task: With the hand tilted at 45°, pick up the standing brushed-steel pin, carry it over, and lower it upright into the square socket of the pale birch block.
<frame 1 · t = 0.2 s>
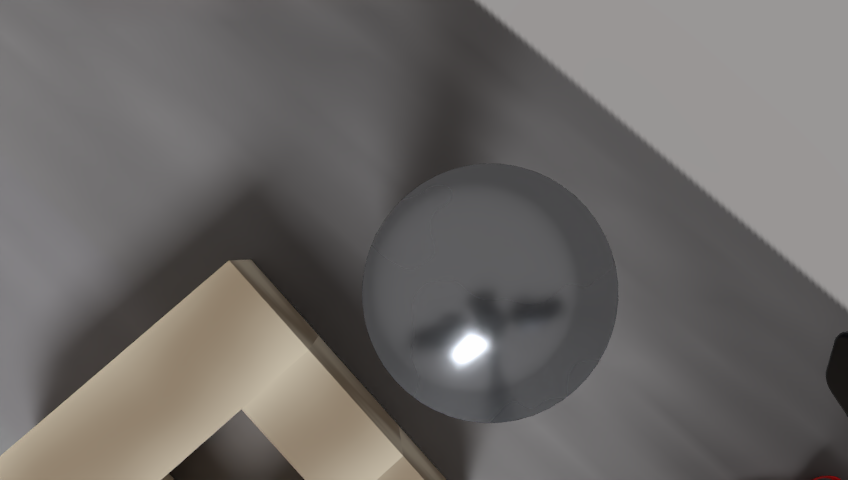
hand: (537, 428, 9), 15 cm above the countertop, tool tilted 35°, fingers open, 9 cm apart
steel pin: (423, 270, 24), on the countertop
socket block: (255, 473, 23), on the countertop
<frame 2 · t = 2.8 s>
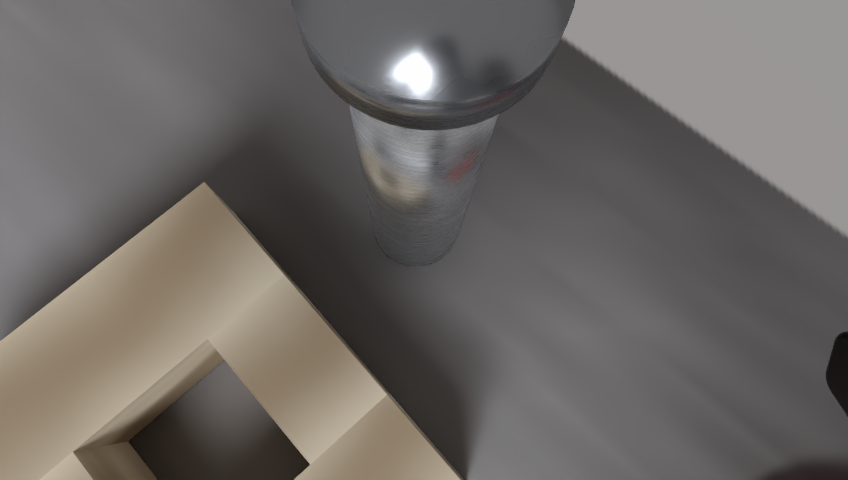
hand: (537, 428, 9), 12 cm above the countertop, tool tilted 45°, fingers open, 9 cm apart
steel pin: (416, 224, 22), on the countertop
socket block: (227, 446, 20), on the countertop
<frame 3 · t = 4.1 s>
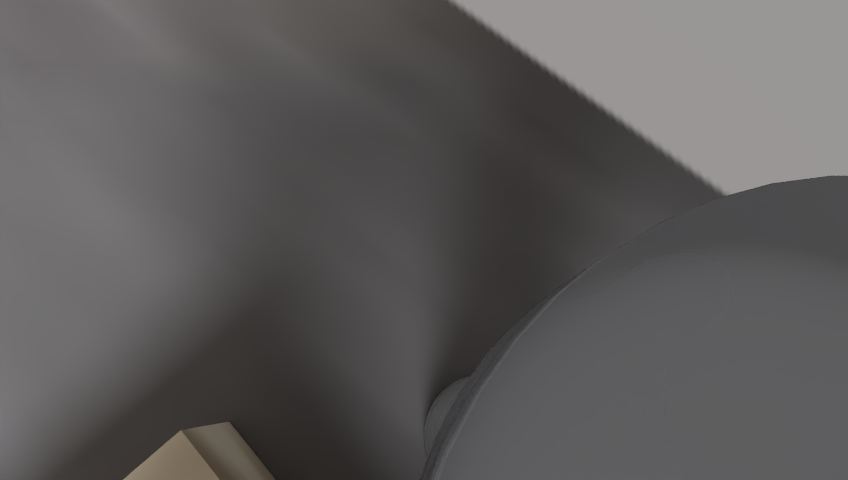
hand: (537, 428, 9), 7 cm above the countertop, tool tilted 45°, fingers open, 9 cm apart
steel pin: (483, 435, 16), on the countertop
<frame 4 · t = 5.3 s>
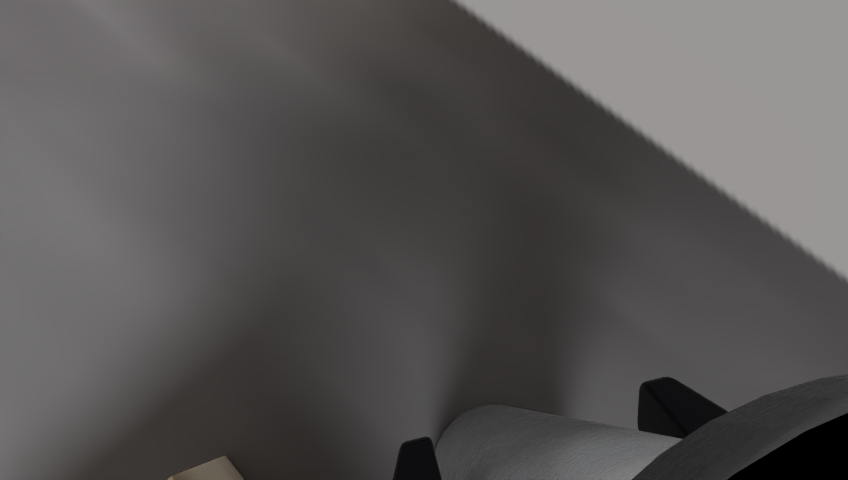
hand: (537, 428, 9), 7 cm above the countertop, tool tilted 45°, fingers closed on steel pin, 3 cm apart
steel pin: (495, 469, 15), on the countertop, touching gripper
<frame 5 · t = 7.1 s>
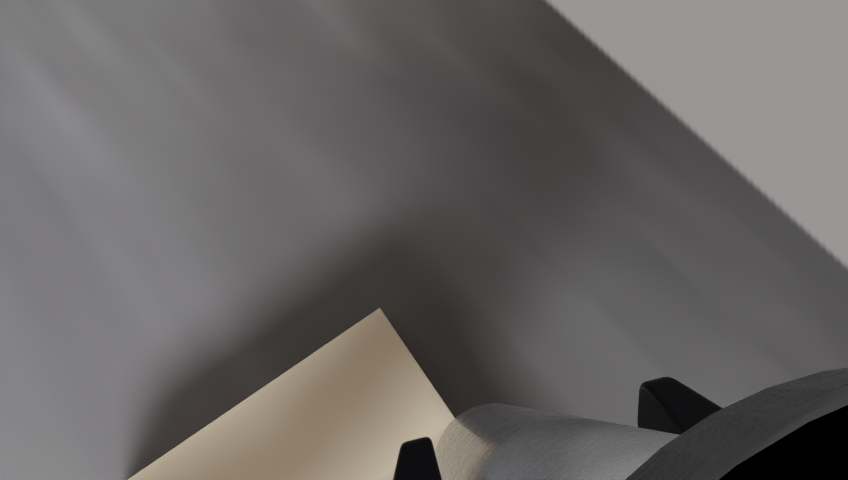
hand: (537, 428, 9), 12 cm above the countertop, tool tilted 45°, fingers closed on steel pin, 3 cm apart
steel pin: (496, 468, 15), point 6 cm above the countertop, touching gripper
when the fingers open (8 cm above the countertop, at t = 9.0 s): steel pin drops 1 cm, resting in socket block.
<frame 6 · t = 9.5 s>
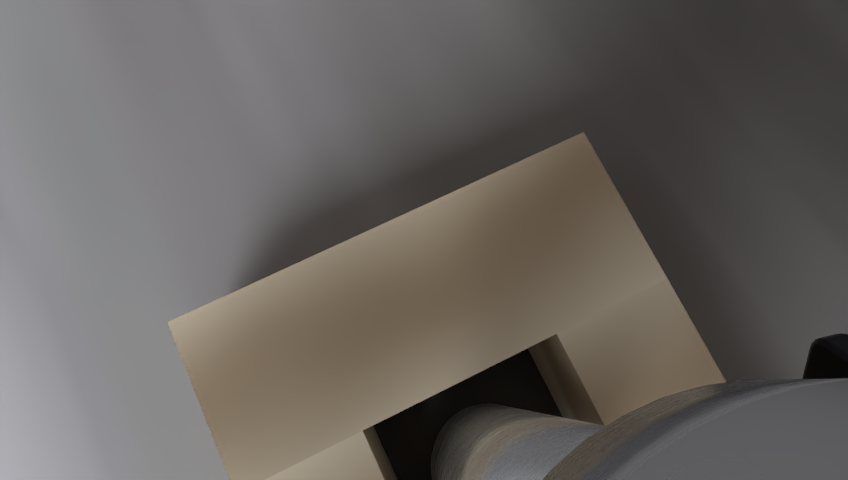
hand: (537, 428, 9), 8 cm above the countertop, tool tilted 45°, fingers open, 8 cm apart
steel pin: (489, 464, 16), resting in socket block
socket block: (489, 463, 16), on the countertop
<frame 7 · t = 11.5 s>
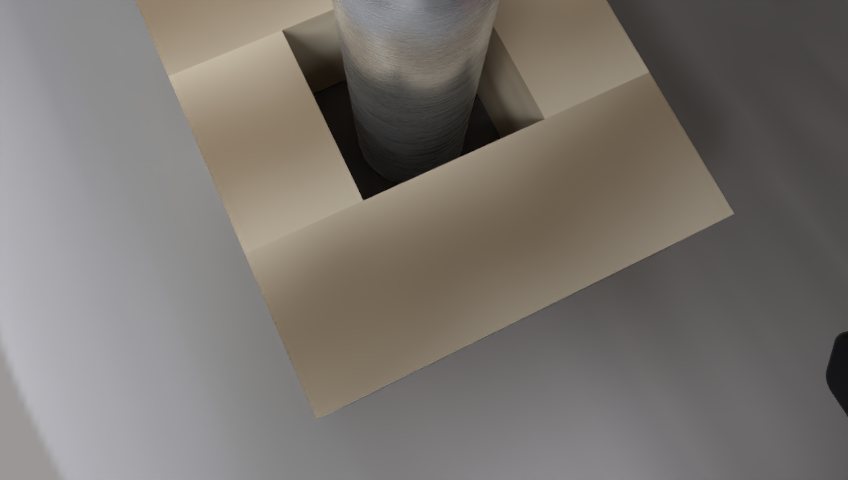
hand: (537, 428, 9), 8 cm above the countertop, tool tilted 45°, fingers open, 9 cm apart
steel pin: (411, 133, 18), resting in socket block
socket block: (410, 132, 18), on the countertop
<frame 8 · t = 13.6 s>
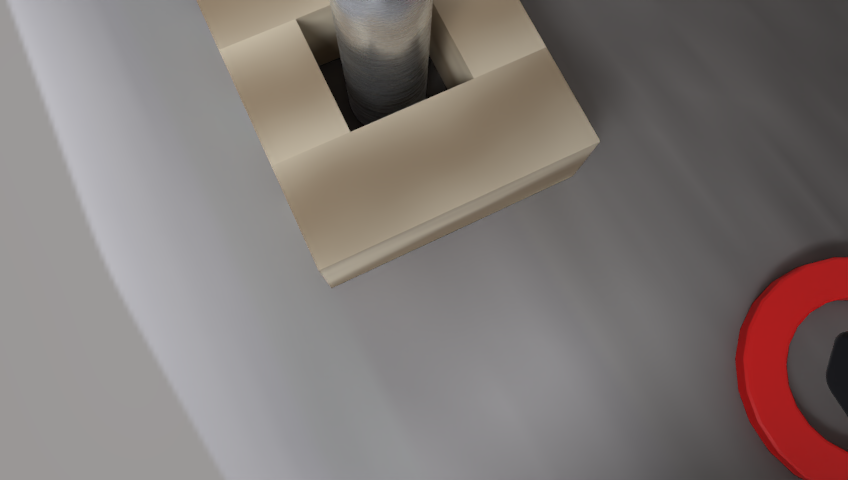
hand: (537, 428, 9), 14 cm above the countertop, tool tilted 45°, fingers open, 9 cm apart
steel pin: (387, 95, 25), resting in socket block
socket block: (386, 95, 25), on the countertop
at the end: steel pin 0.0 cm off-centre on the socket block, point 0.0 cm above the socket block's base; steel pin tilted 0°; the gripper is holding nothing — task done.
